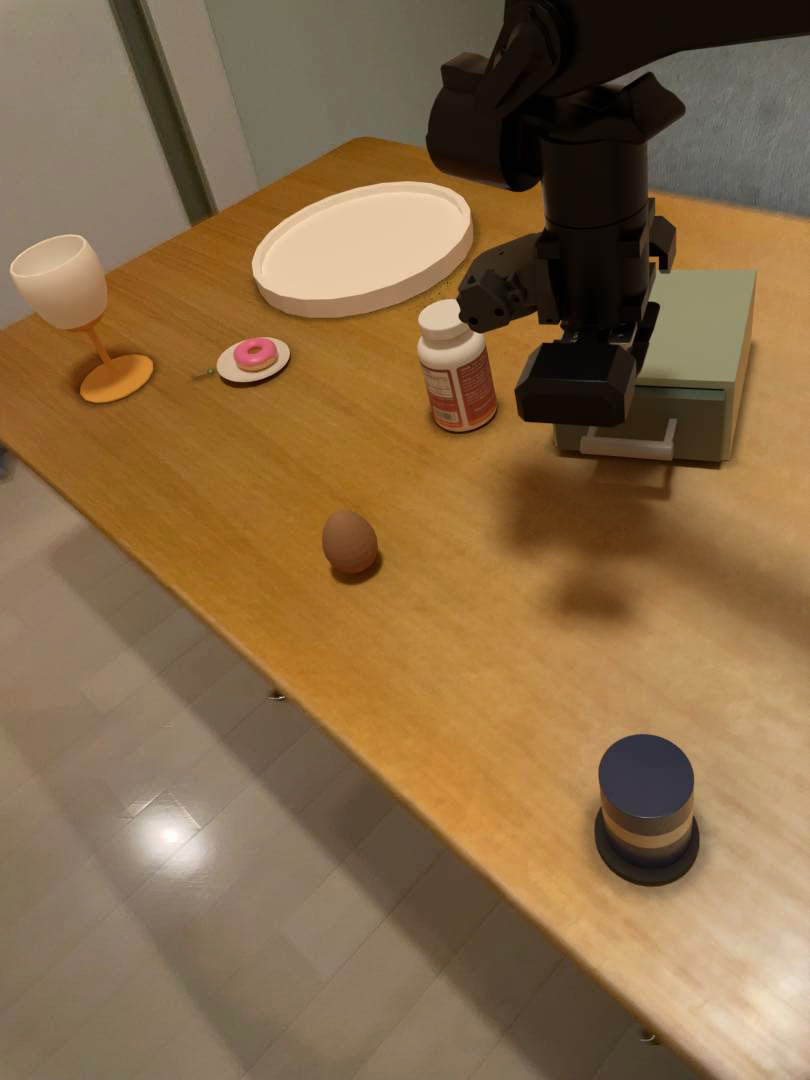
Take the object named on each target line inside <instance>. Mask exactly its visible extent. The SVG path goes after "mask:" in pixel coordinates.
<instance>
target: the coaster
mask: <svg viewBox="0 0 810 1080" xmlns="http://www.w3.org/2000/svg"><path fill="white" fill-rule="evenodd" d="M593 828H594V831H593V832H594V840H595V844H596V848H597V851H598V853H599V855H600V857H601V858H602V860H603V862H604V863H605V864H606V866H607V867H608V868H609V869H610V870H611V871H612V872H614V873H615V874H616V875H617V876H619V877H621V878H622V879H624V880H626V881H628V882H631V883H634V884H636V885H642V886H652V887H653V886H662V885H666V884H669V883H672V882H674V881H677V880H678V879H679V878H681V877H683V876H684V875H685V874H686V873H687V872H688V871H689V870H690V869H691V867H692V866H693V865H694V863H695V861H696V859H697V856H698V853H699V850H700V838H701V837H700V829H699V825H698V822H697V819H696V817H695V815H694V814H693V819H692V837H691V841H690V844H689V847H688V849H687V850H686V852H685V853H684V854H683V856H682V857H681V858H680V859H678V860H677V861H676V862H674V863H672V864H670V865H668V866H665V867H661V868H643V867H638V866H635V865H633V864H631V863H629V862H627V861H625V860H624V859H622V858H621V857H620V856H619V855H618V854H617V853H616V852H615V851H614V850H613V848H612V847H611V846H610V844H609V842H608V840H607V837H606V834H605V828H604V819H603V812H602V806H601V805H600V807H599V809H598V811H597V813H596V816H595V820H594V827H593Z"/></svg>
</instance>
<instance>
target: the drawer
mask: <svg viewBox="0 0 810 1080" xmlns="http://www.w3.org/2000/svg"><path fill="white" fill-rule="evenodd" d="M723 390H724V389H710V388H688V387H667V386H646V385H635V389H634V395H633V398H632V401H631V405H630V408H629V411H628V415H627V418H626V421H625V422H624V423H622V424H620V425H618V426H616V427H614V428H607V427H593V426H578V425H563V424H555V430H556V438H557V447H556V448H557V450H565V451H577V452H580V454H585V455H597V456H609V457H622V458H636V459H647V460H648V459H649V460H659V461H672V460H673V459H680V460H691V461H705V462H719V463H721V461H722V460H721V457H722V450H723V434H724V417H725V401H726V391H723Z"/></svg>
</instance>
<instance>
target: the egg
mask: <svg viewBox="0 0 810 1080" xmlns="http://www.w3.org/2000/svg"><path fill="white" fill-rule="evenodd" d="M321 546H322V551H323V553H324V557H325V558H326V560H327V561H328V562H329V564H330V565H331V566H332V567H333V568H334V569H336V570H338V571H340V572H342V573H346V574H356V573H361V572H363V571H365V570H366V569H368V568H369V567H370V566H371V565H372V564H373V562H374V561H375V559H376V556H377V554H378V549H379V543H378V537H377V534H376V532H375V529H374V528H373V527H372V525H371V524H370V522H368V520H367V519H366V518H365V517H363V516H362V515H360V514H359V513H357V512H355V511H352V510H348V509H340V510H337V511H335V512H333V513H332V514H331V515H330V516H329V517H328V518H327V519H326V520H325V523H324V526H323V529H322V535H321Z"/></svg>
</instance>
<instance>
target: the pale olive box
mask: <svg viewBox="0 0 810 1080" xmlns="http://www.w3.org/2000/svg"><path fill="white" fill-rule="evenodd" d="M757 275H758V269H756V268H751V269H750V268H749V269H748V268H747V269H742V268H741V269H740V268H737V269H736V268H735V269H732V268H729V269H727V268H726V269H724V268H723V269H720V268H719V269H718V268H717V269H716V268H715V269H712V268H711V269H671V272H670V274H661V273H660V271H659V269H656V278H655V281H654V284H653V287H652V291H651V294H650V297H649V300H648V301H652V302H657V303H658V304H659V305H660V311H659V315H658V318H657V321H656V325H655V328H654V331H653V333H652V336H651V338H650V341H649V343H650V345H649V348H648V351H647V355H646V358H645V361H644V365H643V368H642V370H641V372H640V373H639V374H638V376H637V378H636V380H635V385H646V386H667V387H688V388H710V389H724V390H723V391H726V401H725V417H724V434H723V450H722V457H721V461H731V456H732V451H733V445H734V439H735V434H736V429H737V424H738V418H739V413H740V408H741V402H742V396H743V390H744V384H745V379H746V374H747V369H748V364H749V358H750V352H751V347H752V346H751V345H752V336H753V335H752V333H753V325H754V324H753V322H754V311H755V310H754V309H755V297H756V287H757V286H756V284H757ZM563 333H564V331H563V330H562V333H561V337H560V339H559V340H561V338H562V335H563ZM552 430H553V439H554V447H555V448H558V447H557V438H556V430H555V424H552Z"/></svg>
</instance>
